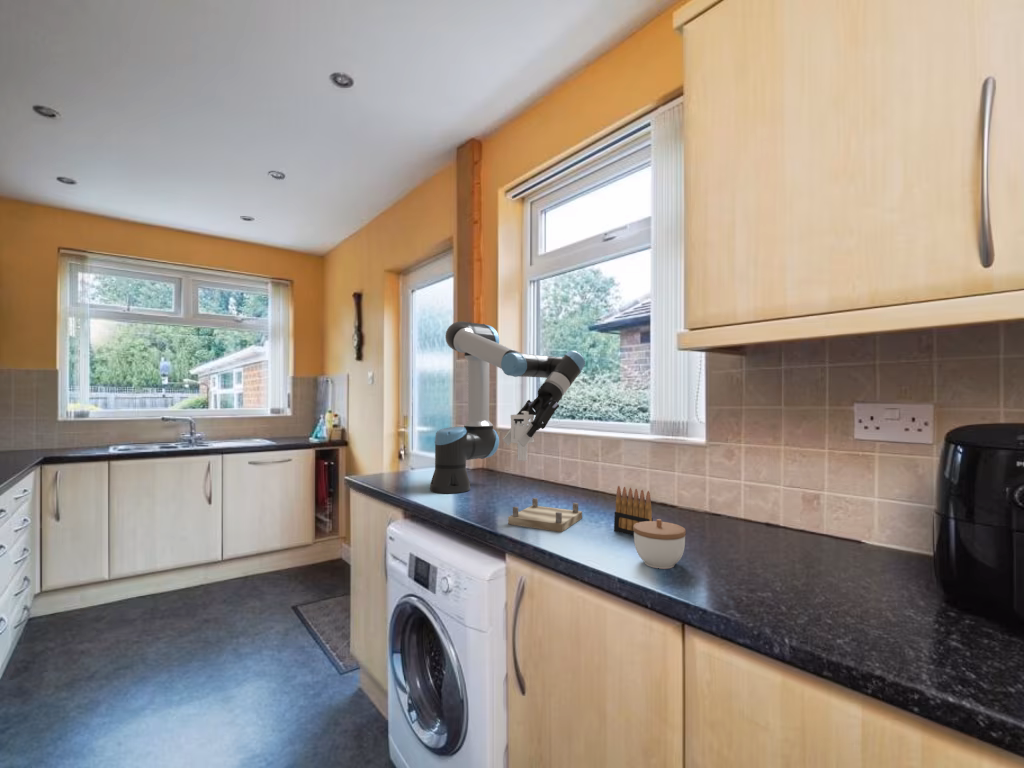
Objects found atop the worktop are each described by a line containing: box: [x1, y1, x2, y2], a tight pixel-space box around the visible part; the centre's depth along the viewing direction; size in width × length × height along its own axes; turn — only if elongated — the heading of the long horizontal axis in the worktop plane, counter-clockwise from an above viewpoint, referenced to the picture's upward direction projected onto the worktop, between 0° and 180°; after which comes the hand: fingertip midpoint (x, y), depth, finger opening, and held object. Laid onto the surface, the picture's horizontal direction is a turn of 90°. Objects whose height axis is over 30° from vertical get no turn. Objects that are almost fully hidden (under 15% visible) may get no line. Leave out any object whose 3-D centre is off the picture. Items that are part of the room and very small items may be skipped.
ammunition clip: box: [613, 485, 654, 537], centre depth 123 cm, size 11×2×12 cm, turn 43°
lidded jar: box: [633, 518, 687, 570], centre depth 101 cm, size 11×11×9 cm
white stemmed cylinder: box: [510, 411, 535, 462], centre depth 144 cm, size 7×7×15 cm
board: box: [507, 497, 583, 533], centre depth 135 cm, size 16×16×4 cm
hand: (513, 442), depth 141 cm, fingers closed on white stemmed cylinder, 7 cm apart
